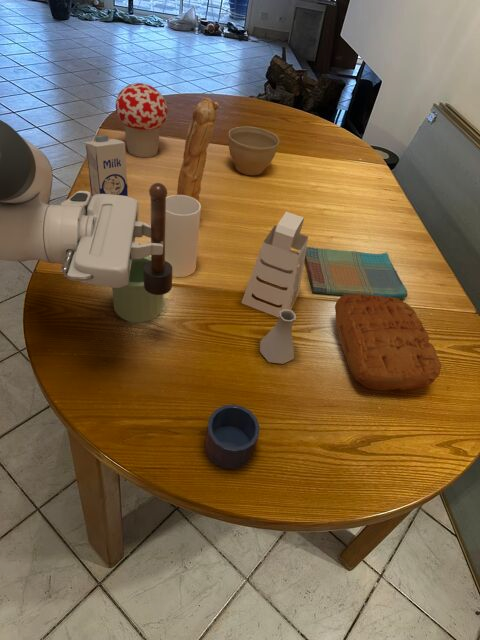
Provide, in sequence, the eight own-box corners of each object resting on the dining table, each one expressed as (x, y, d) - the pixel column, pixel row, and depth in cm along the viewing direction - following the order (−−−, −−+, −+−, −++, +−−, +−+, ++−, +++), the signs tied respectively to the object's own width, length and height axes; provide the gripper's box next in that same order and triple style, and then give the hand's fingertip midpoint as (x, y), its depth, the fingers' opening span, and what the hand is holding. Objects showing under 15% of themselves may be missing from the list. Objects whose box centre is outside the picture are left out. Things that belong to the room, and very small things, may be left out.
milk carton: (103, 224, 105) (95, 145, 92) (92, 211, 109) (83, 133, 95) (129, 218, 109) (125, 141, 95) (118, 206, 113) (113, 130, 99)
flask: (265, 367, 80) (275, 331, 73) (254, 339, 85) (263, 303, 78) (299, 362, 82) (313, 327, 75) (287, 335, 87) (298, 300, 80)
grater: (299, 292, 97) (323, 217, 83) (285, 320, 90) (309, 243, 76) (257, 277, 99) (274, 201, 85) (241, 303, 92) (256, 224, 78)
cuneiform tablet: (325, 314, 93) (336, 286, 88) (397, 319, 96) (412, 292, 90) (349, 397, 78) (364, 370, 72) (434, 400, 80) (455, 374, 74)
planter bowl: (226, 155, 145) (230, 123, 137) (272, 162, 146) (278, 130, 138) (223, 176, 133) (227, 142, 126) (273, 184, 134) (280, 150, 127)
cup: (202, 263, 100) (207, 203, 89) (184, 281, 94) (188, 219, 83) (172, 251, 102) (174, 190, 91) (153, 268, 96) (153, 206, 85)
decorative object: (118, 139, 142) (114, 73, 128) (165, 142, 145) (166, 78, 131) (117, 160, 131) (113, 90, 117) (168, 163, 134) (169, 96, 121)
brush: (152, 298, 71) (150, 195, 57) (139, 282, 73) (135, 179, 60) (176, 290, 73) (181, 188, 60) (163, 274, 76) (164, 173, 62)
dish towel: (406, 302, 100) (411, 294, 99) (312, 295, 97) (315, 286, 96) (385, 259, 113) (389, 251, 111) (301, 251, 110) (303, 243, 108)
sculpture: (211, 221, 114) (224, 103, 93) (183, 230, 109) (189, 108, 88) (197, 209, 117) (206, 93, 96) (169, 217, 112) (172, 97, 91)
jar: (127, 328, 82) (124, 292, 75) (106, 298, 87) (101, 261, 80) (171, 312, 87) (172, 277, 80) (148, 284, 92) (148, 249, 85)
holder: (222, 478, 63) (227, 460, 59) (195, 438, 67) (198, 418, 63) (262, 453, 67) (269, 434, 63) (234, 417, 71) (239, 396, 67)
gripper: (54, 259, 55) (161, 265, 57) (81, 185, 69) (166, 191, 72) (61, 295, 59) (160, 299, 62) (85, 218, 74) (165, 223, 76)
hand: (163, 241), depth 67 cm, fingers closed on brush, 2 cm apart
